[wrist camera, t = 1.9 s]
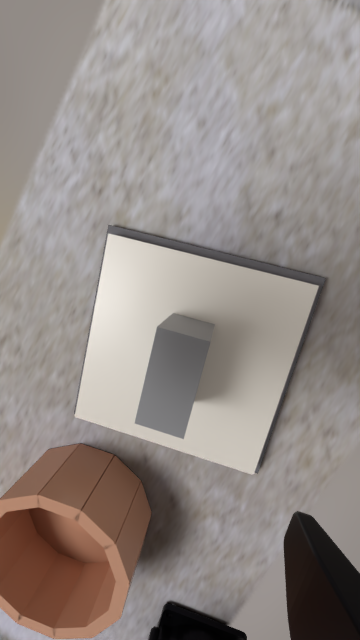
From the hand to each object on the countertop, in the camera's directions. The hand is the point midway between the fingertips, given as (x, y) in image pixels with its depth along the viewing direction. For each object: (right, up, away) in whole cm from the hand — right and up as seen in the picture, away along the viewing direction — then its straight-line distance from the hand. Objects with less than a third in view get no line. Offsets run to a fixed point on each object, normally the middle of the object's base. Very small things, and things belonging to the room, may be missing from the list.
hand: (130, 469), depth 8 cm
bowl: (-6, -10, +14) cm, 18 cm away
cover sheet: (+2, +2, +10) cm, 11 cm away
